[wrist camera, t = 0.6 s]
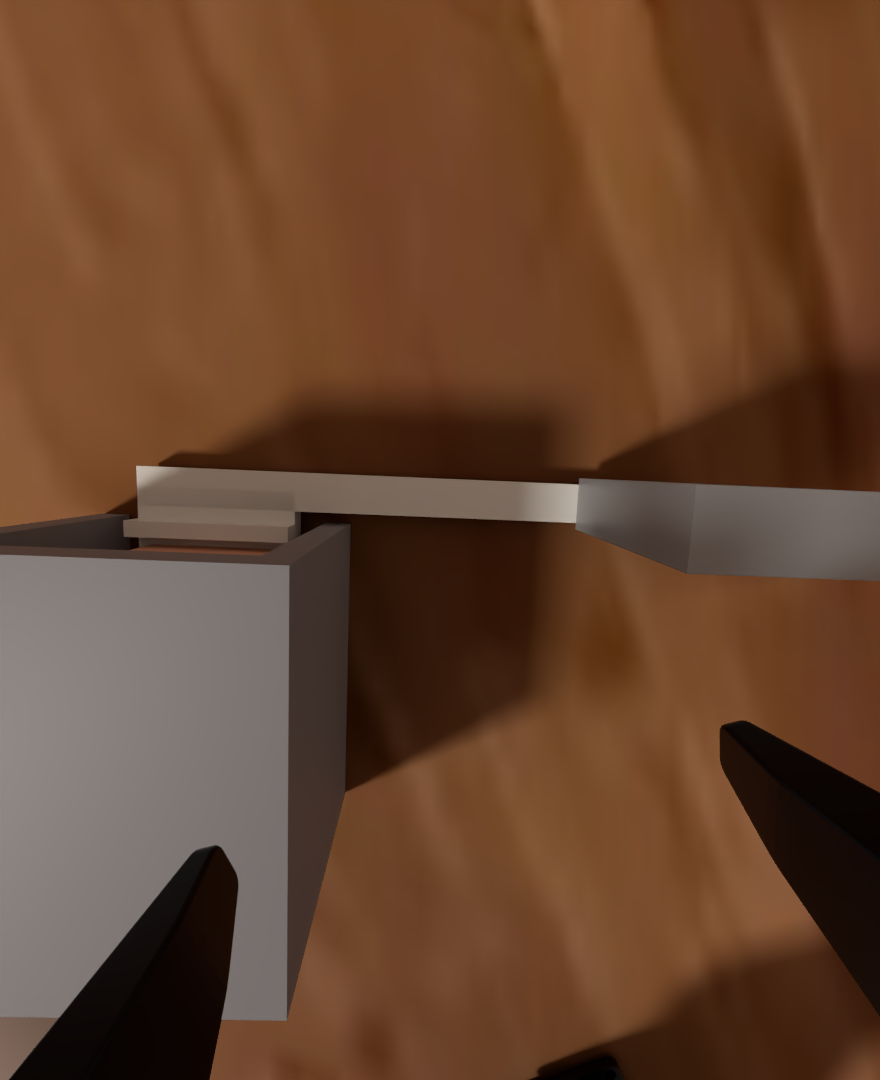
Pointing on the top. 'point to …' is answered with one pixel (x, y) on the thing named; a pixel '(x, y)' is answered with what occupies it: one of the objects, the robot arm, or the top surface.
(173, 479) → the grey white bent piece
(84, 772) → the tunnel
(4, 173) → the top surface
